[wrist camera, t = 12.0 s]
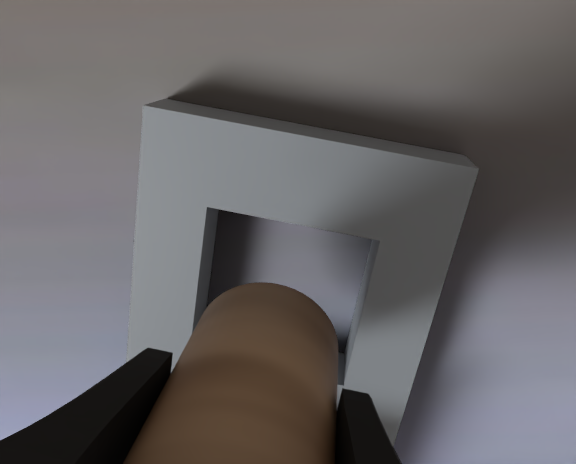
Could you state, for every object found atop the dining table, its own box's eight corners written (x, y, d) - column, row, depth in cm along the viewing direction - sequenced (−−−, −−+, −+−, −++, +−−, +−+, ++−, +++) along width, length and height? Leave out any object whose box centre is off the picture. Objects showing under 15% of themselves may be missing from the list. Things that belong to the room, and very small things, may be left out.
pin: (324, 418, 15) (307, 709, 8) (190, 392, 15) (72, 656, 9) (350, 297, 14) (353, 534, 7) (202, 270, 14) (71, 476, 7)
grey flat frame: (348, 545, 23) (349, 589, 21) (133, 497, 24) (114, 536, 22) (464, 154, 17) (479, 168, 15) (165, 98, 17) (143, 105, 15)
